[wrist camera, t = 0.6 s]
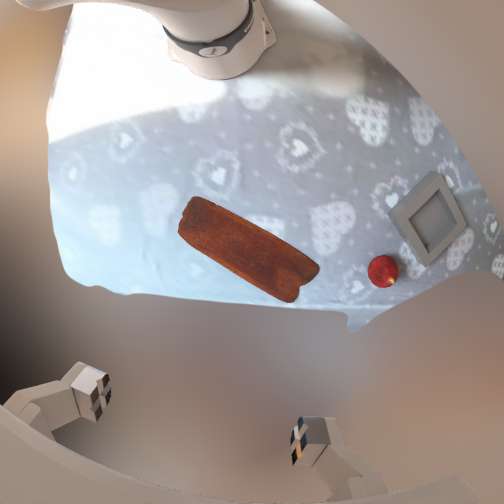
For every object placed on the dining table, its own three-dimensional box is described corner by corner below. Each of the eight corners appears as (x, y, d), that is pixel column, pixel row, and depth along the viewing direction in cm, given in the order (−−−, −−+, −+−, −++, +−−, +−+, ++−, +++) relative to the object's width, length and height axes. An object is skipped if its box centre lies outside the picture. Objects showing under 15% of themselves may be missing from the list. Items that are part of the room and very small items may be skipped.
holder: (417, 260, 49) (425, 267, 46) (386, 213, 46) (394, 218, 43) (457, 220, 45) (466, 225, 42) (430, 171, 43) (440, 173, 39)
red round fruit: (359, 275, 51) (372, 295, 43) (367, 247, 49) (383, 263, 41) (384, 278, 51) (400, 298, 43) (392, 252, 49) (410, 268, 41)
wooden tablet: (321, 264, 51) (323, 267, 49) (290, 303, 54) (291, 307, 52) (197, 186, 47) (194, 188, 45) (171, 233, 50) (168, 236, 48)
